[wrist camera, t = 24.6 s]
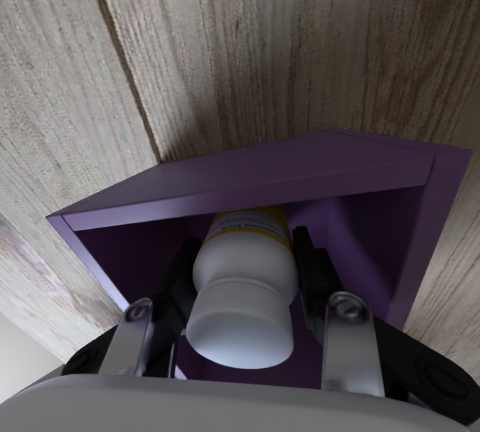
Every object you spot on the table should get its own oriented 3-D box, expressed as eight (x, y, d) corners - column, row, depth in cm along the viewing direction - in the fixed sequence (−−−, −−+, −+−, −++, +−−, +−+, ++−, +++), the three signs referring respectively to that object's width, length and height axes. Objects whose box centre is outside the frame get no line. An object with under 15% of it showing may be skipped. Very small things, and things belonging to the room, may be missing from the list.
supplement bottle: (268, 247, 16) (272, 389, 8) (213, 227, 16) (156, 353, 8) (297, 198, 14) (351, 333, 5) (232, 172, 13) (176, 273, 5)
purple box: (159, 163, 14) (44, 217, 7) (339, 127, 12) (477, 148, 4) (216, 301, 23) (191, 395, 15) (330, 298, 20) (371, 411, 12)
